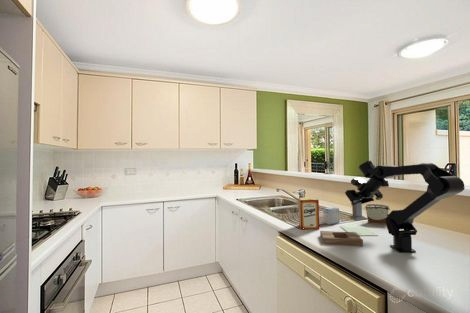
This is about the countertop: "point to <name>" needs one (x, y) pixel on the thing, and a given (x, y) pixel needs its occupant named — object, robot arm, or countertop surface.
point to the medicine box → (331, 215)
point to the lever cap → (357, 212)
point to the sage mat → (359, 230)
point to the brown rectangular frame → (341, 238)
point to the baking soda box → (308, 213)
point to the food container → (376, 213)
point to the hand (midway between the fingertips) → (354, 204)
